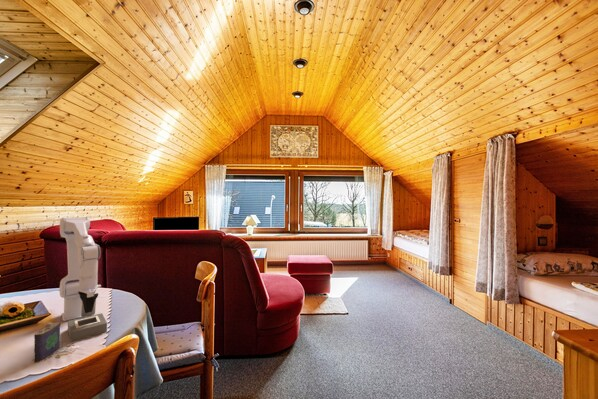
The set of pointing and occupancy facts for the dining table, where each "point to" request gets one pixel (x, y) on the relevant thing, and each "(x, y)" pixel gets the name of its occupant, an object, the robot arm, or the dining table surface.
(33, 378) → the dining table surface
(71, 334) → the grey frame block
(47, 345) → the flask
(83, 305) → the lens
